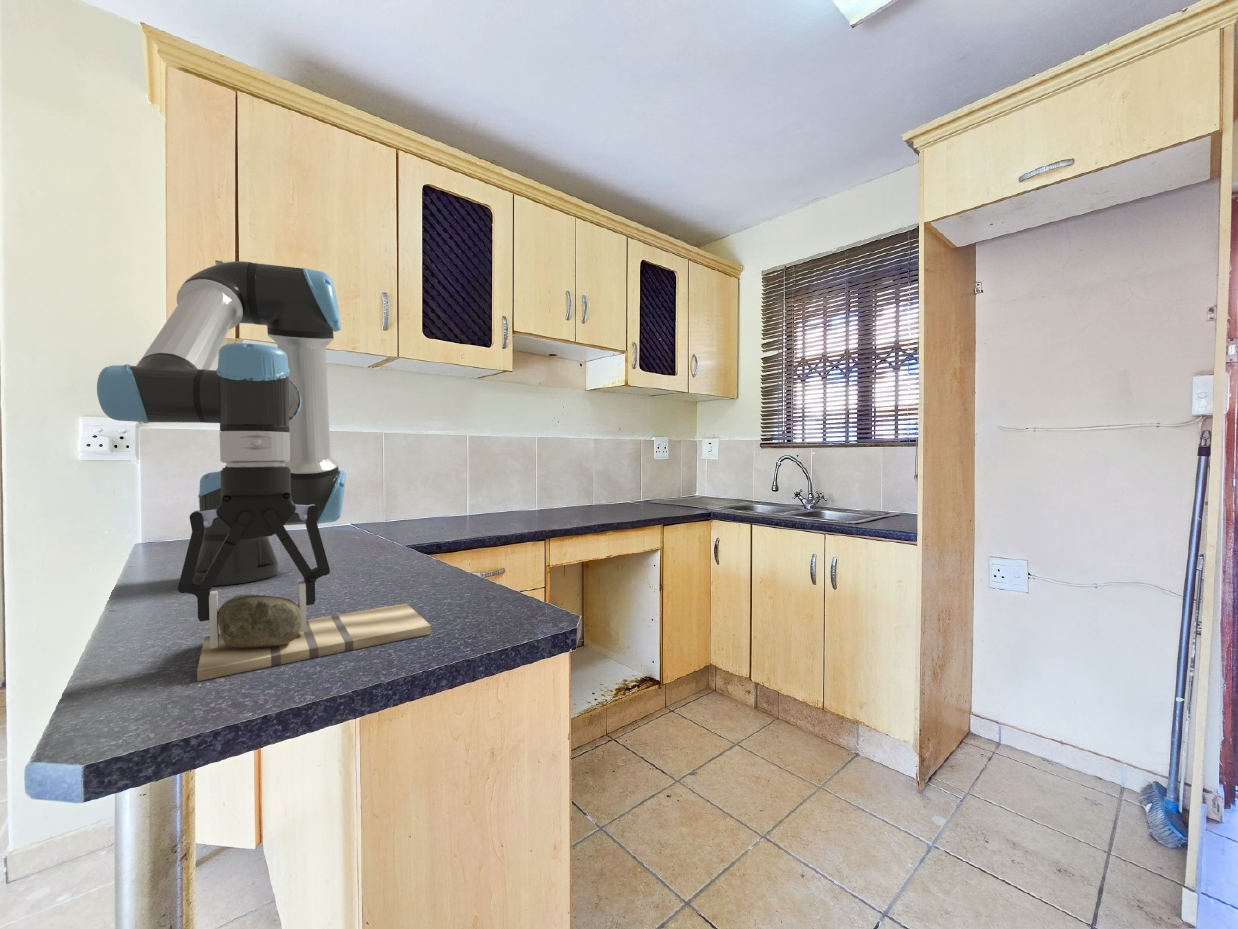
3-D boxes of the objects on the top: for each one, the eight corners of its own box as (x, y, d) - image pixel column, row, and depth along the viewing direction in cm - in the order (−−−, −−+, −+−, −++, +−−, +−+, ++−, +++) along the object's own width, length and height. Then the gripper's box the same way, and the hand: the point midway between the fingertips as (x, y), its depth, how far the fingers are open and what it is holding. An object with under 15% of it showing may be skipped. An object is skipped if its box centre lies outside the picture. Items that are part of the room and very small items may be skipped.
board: (204, 645, 71) (204, 636, 71) (406, 610, 86) (406, 603, 86) (197, 681, 59) (197, 670, 59) (431, 634, 74) (430, 625, 74)
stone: (220, 656, 60) (210, 574, 63) (227, 677, 70) (218, 606, 74) (306, 633, 65) (294, 558, 68) (301, 656, 76) (290, 590, 79)
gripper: (140, 467, 59) (145, 666, 59) (352, 463, 71) (355, 628, 72) (150, 466, 65) (155, 646, 65) (344, 463, 77) (347, 614, 78)
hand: (260, 636), depth 69 cm, fingers closed on stone, 9 cm apart
